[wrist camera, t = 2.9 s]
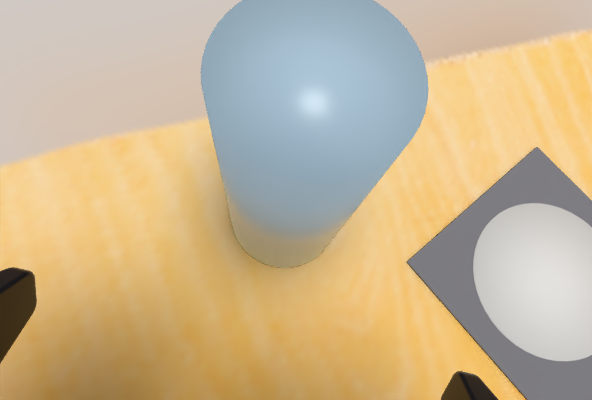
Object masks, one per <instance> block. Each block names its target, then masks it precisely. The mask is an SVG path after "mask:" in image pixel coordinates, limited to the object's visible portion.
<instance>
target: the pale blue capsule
mask: <svg viewBox="0 0 592 400" xmlns="http://www.w3.org/2000/svg"><path fill="white" fill-rule="evenodd" d="M201 85H202V90H203V95H204V100H205V105H206V109H207V114H208V118H209V123H210V127H211V132H212V136H213V141H214V145H215V150H216V154H217V159H218V163H219V168H220V172H221V177H222V181H223V186H224V190H225V195H226V199H227V204H228V208H229V213H230V217H231V222H232V226H233V230H234V233H235V236H236V238H237V240H238V242H239V243H240V245H241V246H242V248H243V249H244V250H245V251H246V252H247V253H248V254H249V255H250V256H251V257H253V258H254V259H256V260H257V261H259V262H261V263H263V264H266V265H269V266H273V267H278V268H290V267H296V266H300V265H303V264H306V263H308V262H310V261H312V260H313V259H315V258H316V257H317V256H319V255H320V254H321V253H322V252H323V251H324V249H325V248H326V247H327V246H328V245H329V243H330V242H331V241H332V239H333V238H334V237H335V236H336V234H337V233H338V232H339V231H340V229H341V228H342V227H343V225H344V224H345V223H346V222H347V220H348V219H349V218H350V217H351V215H352V214H353V213H354V212H355V210H356V209H357V208H358V206H359V205H360V204H361V203H362V201H363V200H364V199H365V198H366V196H367V195H368V194H369V193H370V191H371V190H372V189H373V187H374V186H375V185H376V184H377V182H378V181H379V180H380V179H381V177H382V176H383V175H384V174H385V172H386V171H387V170H388V168H389V167H390V166H391V165H392V163H393V162H394V161H395V160H396V158H397V157H398V156H399V155H400V153H401V152H402V151H403V149H404V148H405V147H406V146H407V144H408V143H409V142H410V141H411V139H412V138H413V137H414V135H415V133H416V131H417V130H418V128H419V126H420V124H421V121H422V119H423V116H424V114H425V109H426V105H427V99H428V78H427V72H426V67H425V63H424V60H423V58H422V55H421V52H420V50H419V48H418V46H417V45H416V43H415V41H414V39H413V38H412V36H411V35H410V33H409V32H408V30H407V29H406V28H405V27H404V26H403V25H402V23H401V22H400V21H399V20H398V19H397V18H396V17H395V16H394V15H392V14H391V13H390V12H389V11H388V10H387V9H385V8H384V7H382V6H381V5H379V4H378V3H377V2H375V1H373V0H243V1H241V2H239V3H238V4H237V5H235V6H234V7H233V8H232V9H231V10H230V11H229V12H227V13H226V14H225V15H224V17H223V18H222V19H221V20H220V21H219V22H218V24H217V26H216V27H215V28H214V30H213V32H212V33H211V35H210V37H209V39H208V42H207V44H206V47H205V50H204V54H203V58H202V65H201Z"/></svg>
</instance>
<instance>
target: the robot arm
mask: <svg viewBox="0 0 592 400" xmlns="http://www.w3.org/2000/svg"><path fill="white" fill-rule="evenodd" d="M36 302H37V299H36V287H35V276H34V274H33V273H32V272H31V271H28V270H24V269H19V268H14V267H12V268H8V269H5V270H2V271H0V363H1V362H2V360H3V358H4V357H5V355H6V354H7V352H8V351H9V349H10V348H11V346H12V345H13V343H14V342H15V340H16V339H17V337H18V335H19V334H20V332H21V331H22V329H23V328H24V326H25V325H26V323H27V322H28V320H29V319H30V317H31V315H32V314H33V312H34V310H35V307H36ZM441 400H498V399H497V397H496V396H495V395H494V394H493V393H492V392H491V391H490V389H489V388H488V387H487V386H486V385H485V384H484V382H483V381H482V380H481V379H480V378H479V377H478V376H476V375H474V374H470V373H466V372H462V371H458V372H456V373H455V374H454V375H453V377H452V378H451V380H450V382H449V384H448V386H447V387H446V389H445V391H444V393H443V395H442V397H441Z"/></svg>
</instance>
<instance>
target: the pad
mask: <svg viewBox="0 0 592 400" xmlns="http://www.w3.org/2000/svg"><path fill="white" fill-rule="evenodd" d="M407 263H408V264H409V265H410V267H411V268H412V269H413V270H414V271H415V272H416V273H417V275H418V276H419V277H420V278H421V279H422V280H423V281H424V283H425V284H426V285H427V286H428V287H429V288H430V289H431V291H432V292H433V293H434V294H435V295H436V296H437V297H438V299H439V300H440V301H441V302H442V303H443V304H444V305H445V307H446V308H447V309H448V310H449V311H450V312H451V313H452V315H453V316H454V317H455V318H456V319H457V320H458V321H459V323H460V324H461V325H462V326H463V327H464V328H465V329H466V331H467V332H468V333H469V334H470V335H471V336H472V337H473V339H474V340H475V341H476V342H477V343H478V344H479V345H480V347H481V348H482V349H483V350H484V351H485V352H486V353H487V355H488V356H489V357H490V358H491V359H492V360H493V361H494V363H495V364H496V365H497V366H498V367H499V368H500V369H501V371H502V372H503V373H504V374H505V375H506V376H507V377H508V379H509V380H510V381H511V382H512V383H513V384H514V385H515V387H516V388H517V389H518V390H519V391H520V392H521V393H522V395H523V396H524V397H525V398H526V399H527V400H592V201H591V200H590V199H589V198H588V197H587V196H586V195H585V194H584V193H583V192H582V191H581V190H580V189H579V188H578V187H577V186H576V185H575V184H574V183H573V182H572V181H571V180H570V179H569V178H568V177H567V176H566V175H565V174H564V173H563V172H562V171H561V170H560V169H559V168H558V167H557V166H556V165H555V164H554V163H553V162H552V161H551V160H550V159H549V158H548V157H547V156H546V155H545V154H544V153H543V152H542V151H541V150H540V149H539V148H538V147H536V148H535V149H534V150H533V151H532V152H530V153H529V154H528V155H527V156H526V157H525V158H524V159H523V160H521V161H520V162H519V163H518V164H517V165H516V166H515V167H514V168H512V169H511V170H510V171H509V172H508V173H507V174H506V175H504V176H503V177H502V178H501V179H500V180H499V181H498V182H497V183H495V184H494V185H493V186H492V187H491V188H490V189H489V190H488V191H486V192H485V193H484V194H483V195H482V196H481V197H480V198H479V199H477V200H476V201H475V202H474V203H473V204H472V205H471V206H469V207H468V208H467V209H466V210H465V211H464V212H463V213H462V214H460V215H459V216H458V217H457V218H456V219H455V220H454V221H453V222H451V223H450V224H449V225H448V226H447V227H446V228H445V229H444V230H442V231H441V232H440V233H439V234H438V235H437V236H436V237H434V238H433V239H432V240H431V241H430V242H429V243H428V244H427V245H425V246H424V247H423V248H422V249H421V250H420V251H419V252H418V253H416V254H415V255H414V256H413V257H412V258H411V259H410V260H409V261H407Z"/></svg>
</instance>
